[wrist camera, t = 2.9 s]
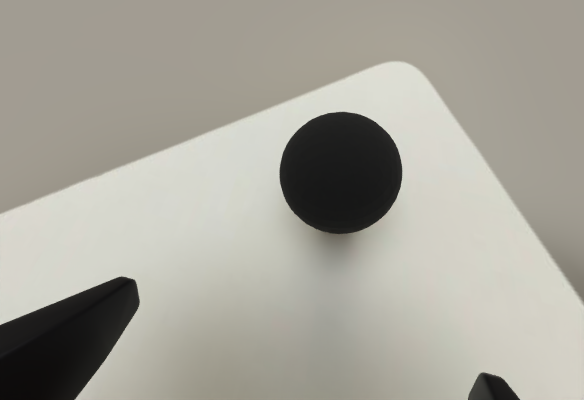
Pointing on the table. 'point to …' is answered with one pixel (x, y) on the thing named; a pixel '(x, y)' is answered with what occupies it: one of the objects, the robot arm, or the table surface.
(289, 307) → the table surface
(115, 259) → the table surface
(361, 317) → the table surface
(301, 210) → the light bulb
